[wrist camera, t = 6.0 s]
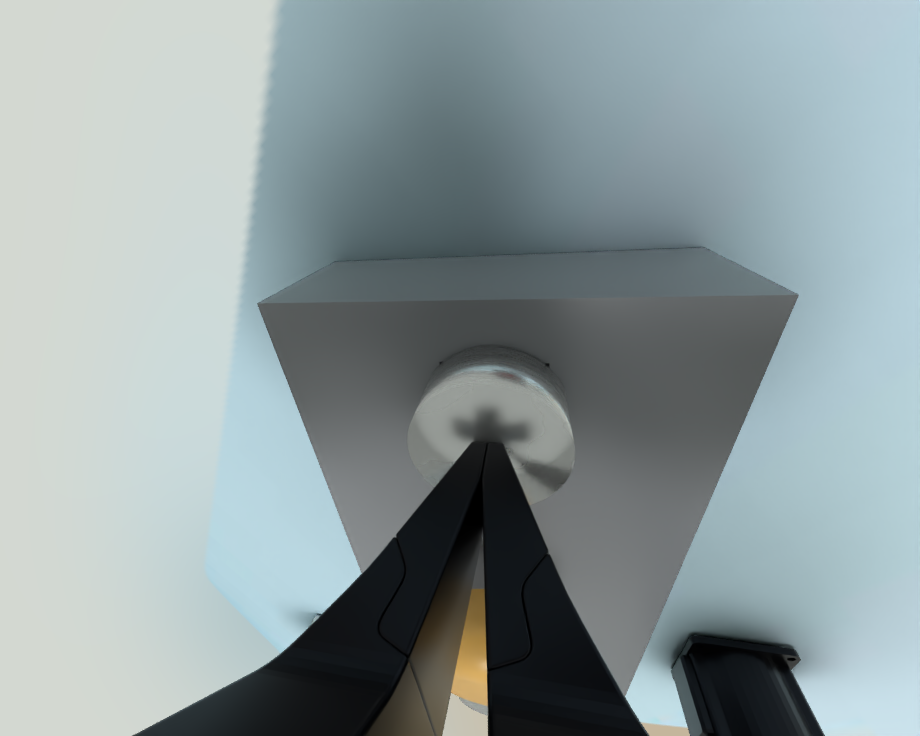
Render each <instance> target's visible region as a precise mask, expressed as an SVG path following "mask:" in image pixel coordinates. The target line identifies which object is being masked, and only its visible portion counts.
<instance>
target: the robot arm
mask: <svg viewBox="0 0 920 736" xmlns="http://www.w3.org/2000/svg"><path fill="white" fill-rule="evenodd" d="M482 536H483V553H484V589H485V625H486V661H487V700H488V736H649V735H648V733H647V731H646V730H645V729H644V727H643V726H642V724H641V723H640V721H639V719H638V718H637V716H636V715H635V713H634V711H633V710H632V708H631V707H630V705H629V703H628V701H627V700H626V698H625V696H624V695H623V693H622V691H621V689H620V688H619V686H618V684H617V682H616V680H615V679H614V677H613V675H612V673H611V672H610V670H609V668H608V666H607V664H606V663H605V661H604V659H603V657H602V656H601V654H600V652H599V650H598V648H597V647H596V645H595V643H594V641H593V640H592V638H591V636H590V634H589V632H588V631H587V629H586V627H585V625H584V624H583V622H582V620H581V618H580V616H579V614H578V612H577V610H576V608H575V607H574V605H573V603H572V601H571V599H570V597H569V595H568V593H567V591H566V589H565V586H564V584H563V582H562V580H561V578H560V576H559V573H558V571H557V569H556V566H555V564H554V562H553V559H552V557H551V555H550V554H549V550H548V548H547V546H546V543H545V541H544V538H543V536H542V534H541V531H540V529H539V526H538V524H537V522H536V519H535V517H534V515H533V512H532V510H531V507H530V505H529V503H528V500H527V498H526V495H525V493H524V491H523V488H522V486H521V484H520V481H519V479H518V476H517V474H516V472H515V469H514V467H513V464H512V462H511V460H510V457H509V455H508V453H507V450H506V448H505V446H504V444H503V443H495V442H490V443H488V444H487V443H486V442H477V441H473V442H471V443H470V445H469V446H468V447H467V448H466V449H465V451H464V452H463V453H462V454H461V455H460V457H459V458H458V459H457V460H456V462H455V463H454V464H453V465H452V466H451V468H450V469H449V470H448V471H447V473H446V474H445V475H444V476H443V477H442V479H441V480H440V481H439V482H438V484H437V485H436V486H435V487H434V488H433V490H432V491H431V492H430V493H429V495H428V496H427V497H426V498H425V499H424V501H423V502H422V503H421V504H420V506H419V507H418V508H417V509H416V510H415V512H414V513H413V514H412V515H411V517H410V518H409V519H408V520H407V521H406V523H405V524H404V525H403V526H402V528H401V529H400V530H399V531H398V532H397V534H396V537H393V538H392V539H391V541H390V542H389V543H388V544H387V546H386V547H385V548H384V549H383V550H382V552H381V553H380V554H379V555H378V556H377V557H376V559H375V560H374V561H373V562H372V563H371V564H370V566H369V567H368V568H367V569H366V570H365V571H364V572H363V573H362V574H361V575H360V576H359V577H358V578H357V579H356V580H355V581H354V582H353V583H352V584H351V586H350V587H349V588H348V589H347V590H346V591H345V592H344V593H343V594H342V595H341V596H340V597H339V598H338V599H337V600H336V601H335V602H334V603H333V604H332V605H331V606H330V607H329V608H328V609H327V610H326V611H325V612H324V613H323V614H322V615H321V616H320V617H319V618H318V619H317V620H316V621H315V622H314V623H313V624H312V625H311V626H310V627H309V628H308V629H307V630H306V631H304V632H303V633H302V634H301V635H300V636H299V637H298V638H297V639H296V640H295V641H294V642H293V643H292V644H291V645H290V646H289V647H288V648H287V649H285V650H284V651H283V652H282V653H281V654H279V655H278V656H277V657H275V658H274V659H273V660H271V661H270V662H269V663H267V664H266V665H264V666H263V667H261V668H259V669H258V670H256V671H254V672H252V673H250V674H249V675H247V676H245V677H243V678H241V679H239V680H237V681H235V682H233V683H231V684H230V685H228V686H226V687H224V688H222V689H220V690H218V691H216V692H215V693H213V694H211V695H209V696H207V697H205V698H203V699H201V700H199V701H197V702H196V703H194V704H192V705H190V706H188V707H186V708H184V709H182V710H180V711H179V712H177V713H175V714H173V715H171V716H169V717H167V718H165V719H163V720H161V721H160V722H158V723H156V724H154V725H152V726H150V727H148V728H146V729H145V730H143V731H141V732H139V733H137V734H135V735H133V736H442V734H443V729H444V724H445V719H446V714H447V709H448V704H449V699H450V694H451V689H452V684H453V679H454V674H455V670H456V665H457V660H458V655H459V650H460V645H461V640H462V635H463V630H464V625H465V620H466V615H467V610H468V605H469V600H470V595H471V590H472V586H473V581H474V576H475V571H476V566H477V561H478V556H479V551H480V546H481V541H482ZM800 660H801V659H800V657H799V655H798V653H797V652H796V650H794V649H789V648H782V647H775V646H768V645H761V644H753V643H746V642H739V641H732V640H725V639H718V638H711V637H704V636H692V637H690V638H689V640H688V641H687V643H686V645H685V647H684V649H683V650H682V652H681V654H680V656H679V658H678V659H677V661H676V663H675V665H674V667H673V668H672V670H671V673H672V677H673V679H674V680H675V684H676V687H677V691H678V694H679V698H680V701H681V705H682V708H683V712H684V716H685V719H686V723H687V726H688V730H689V733H690V736H825V735H824V733H823V731H822V729H821V727H820V725H819V723H818V722H817V720H816V718H815V716H814V714H813V712H812V710H811V708H810V706H809V704H808V702H807V700H806V698H805V696H804V694H803V692H802V691H801V689H800V687H799V685H798V683H797V681H796V679H795V677H794V675H793V673H792V671H791V670H792V669H793V667H794V666H795V665H796V664H797V663H798V662H799V661H800Z"/></svg>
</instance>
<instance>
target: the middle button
mask: <svg viewBox="0 0 920 736" xmlns="http://www.w3.org/2000/svg"><path fill="white" fill-rule="evenodd" d="M451 693H453V694H455V695H457V696H459V697H461V698H463V699H466V700H469V701H471V702H475V703H478V704H481V705H485V706H488V700H487V661H486V625H485V589H484V553H483V546H480V551H479V556H478V561H477V566H476V571H475V576H474V581H473V586H472V590H471V595H470V600H469V605H468V610H467V615H466V620H465V625H464V630H463V635H462V640H461V645H460V650H459V655H458V660H457V665H456V670H455V674H454V679H453V684H452V689H451Z"/></svg>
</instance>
